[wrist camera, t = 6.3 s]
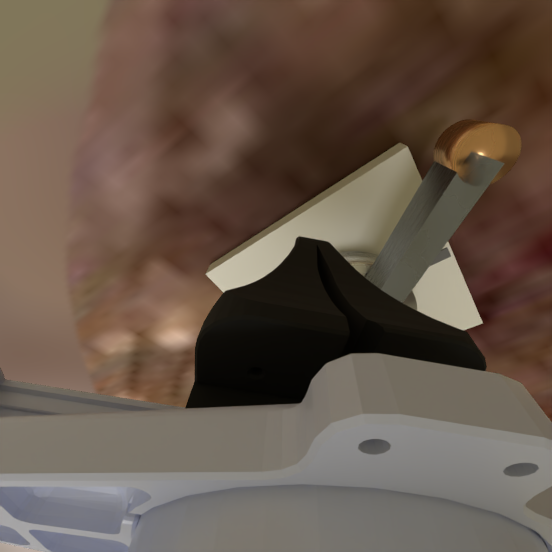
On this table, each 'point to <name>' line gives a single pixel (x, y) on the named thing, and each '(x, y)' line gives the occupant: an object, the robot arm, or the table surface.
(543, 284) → the table surface
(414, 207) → the grey metal handled bowl
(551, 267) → the table surface
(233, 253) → the cap plate
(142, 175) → the table surface
